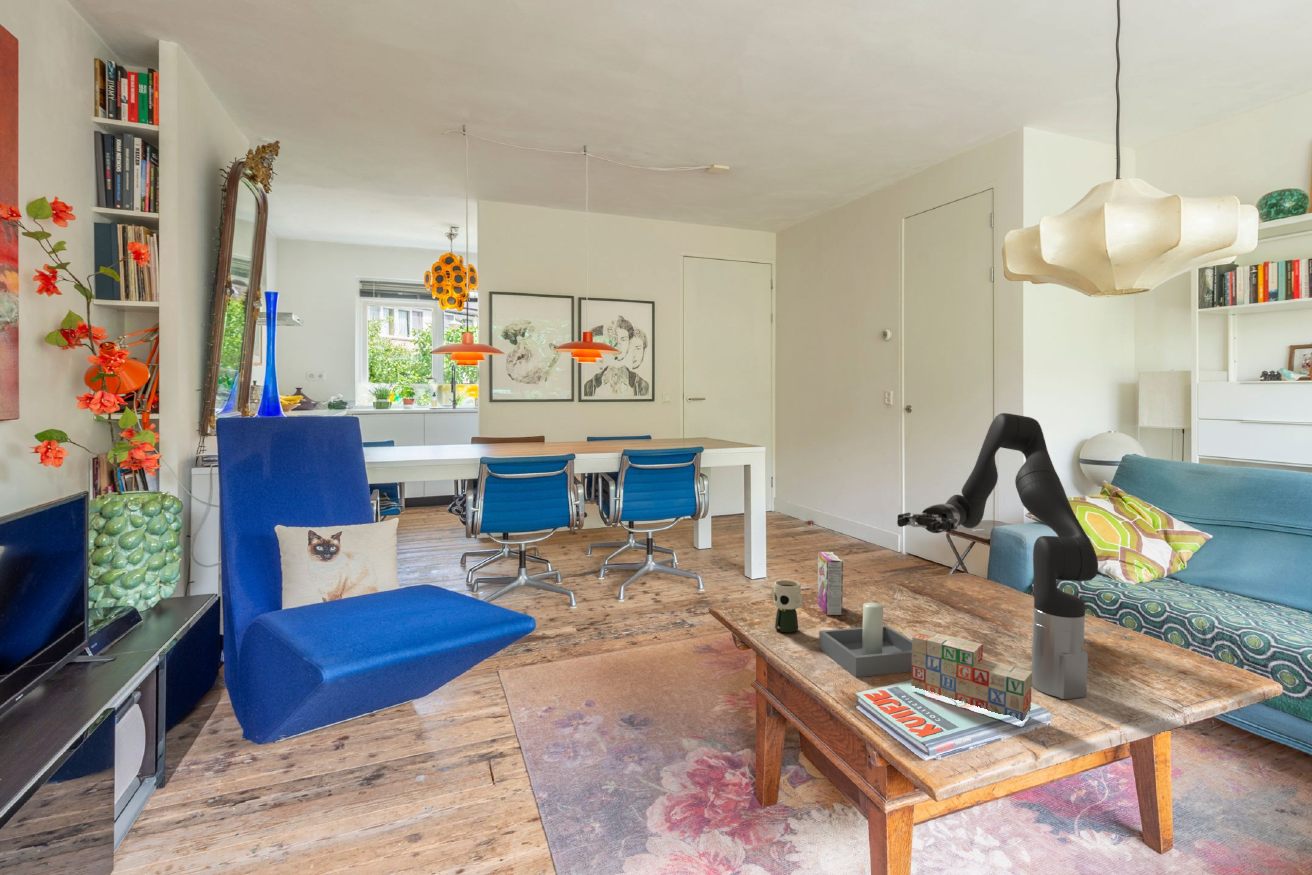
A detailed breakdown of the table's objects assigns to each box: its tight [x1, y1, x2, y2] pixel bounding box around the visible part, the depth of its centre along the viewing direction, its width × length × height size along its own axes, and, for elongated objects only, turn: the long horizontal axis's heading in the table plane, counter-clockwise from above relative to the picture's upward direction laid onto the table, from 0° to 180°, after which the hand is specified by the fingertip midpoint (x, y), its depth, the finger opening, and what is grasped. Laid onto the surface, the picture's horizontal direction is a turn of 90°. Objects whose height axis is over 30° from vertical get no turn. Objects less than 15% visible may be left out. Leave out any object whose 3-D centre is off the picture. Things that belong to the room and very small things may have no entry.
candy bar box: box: [817, 551, 844, 616], centre depth 184 cm, size 11×5×16 cm, turn 179°
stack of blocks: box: [910, 629, 1033, 721], centre depth 126 cm, size 21×6×12 cm, turn 45°
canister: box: [862, 602, 884, 655], centre depth 149 cm, size 5×5×12 cm
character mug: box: [771, 579, 804, 633], centre depth 167 cm, size 11×7×13 cm, turn 36°
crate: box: [818, 624, 912, 678], centre depth 149 cm, size 17×19×4 cm
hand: (915, 525), depth 161 cm, fingers open, 8 cm apart
